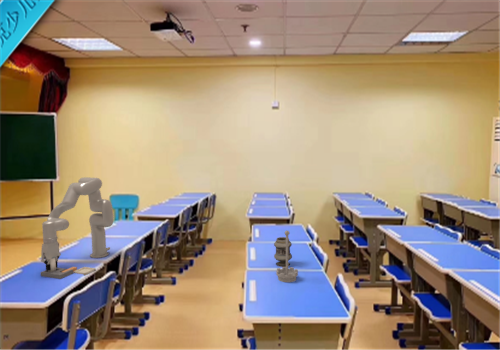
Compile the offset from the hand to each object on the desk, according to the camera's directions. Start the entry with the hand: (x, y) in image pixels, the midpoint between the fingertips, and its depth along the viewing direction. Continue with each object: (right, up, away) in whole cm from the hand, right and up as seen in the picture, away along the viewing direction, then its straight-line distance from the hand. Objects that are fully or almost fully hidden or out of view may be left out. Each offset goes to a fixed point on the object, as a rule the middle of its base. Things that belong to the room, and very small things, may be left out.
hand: (51, 268), depth 237 cm
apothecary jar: (+148, -2, +17) cm, 149 cm away
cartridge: (0, -4, 0) cm, 4 cm away
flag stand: (+148, -4, -10) cm, 149 cm away
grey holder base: (+4, -4, -1) cm, 6 cm away
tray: (+19, -4, +5) cm, 20 cm away
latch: (+10, -4, +2) cm, 11 cm away
